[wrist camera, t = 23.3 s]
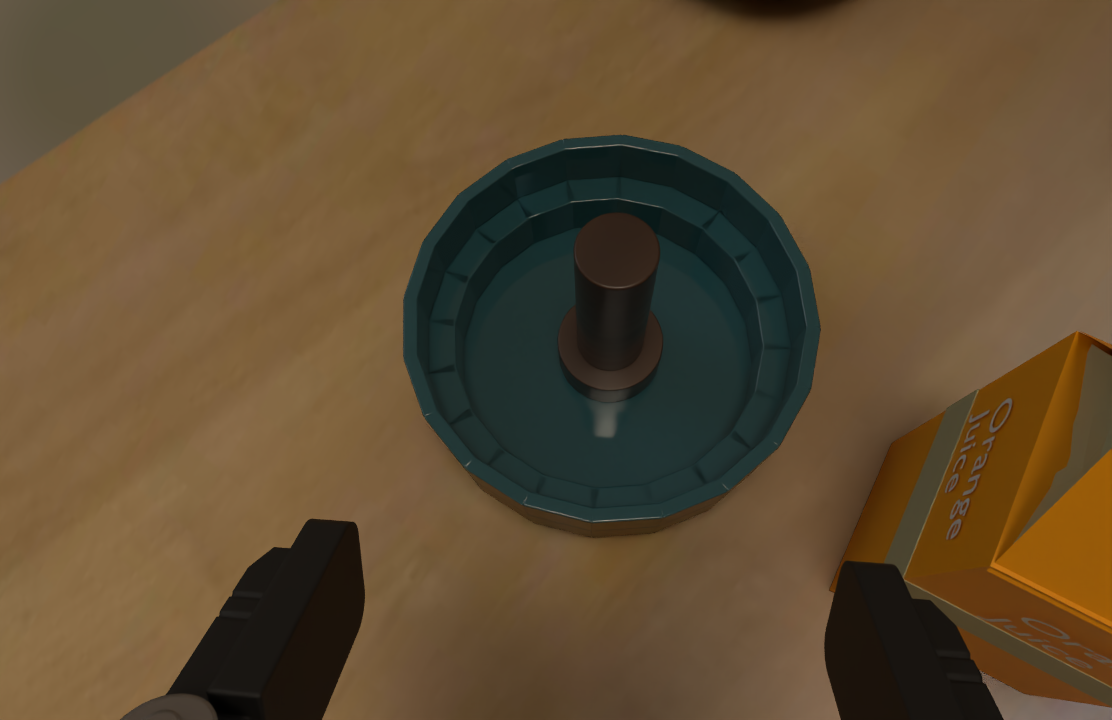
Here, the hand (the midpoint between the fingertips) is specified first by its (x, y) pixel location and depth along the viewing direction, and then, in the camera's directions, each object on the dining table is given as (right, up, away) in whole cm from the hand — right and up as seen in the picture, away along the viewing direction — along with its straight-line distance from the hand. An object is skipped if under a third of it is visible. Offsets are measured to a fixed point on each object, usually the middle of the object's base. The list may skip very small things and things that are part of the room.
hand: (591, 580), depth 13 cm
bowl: (+2, +4, +25) cm, 26 cm away
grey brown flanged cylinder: (+2, +4, +24) cm, 25 cm away
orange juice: (+17, -5, +22) cm, 28 cm away
